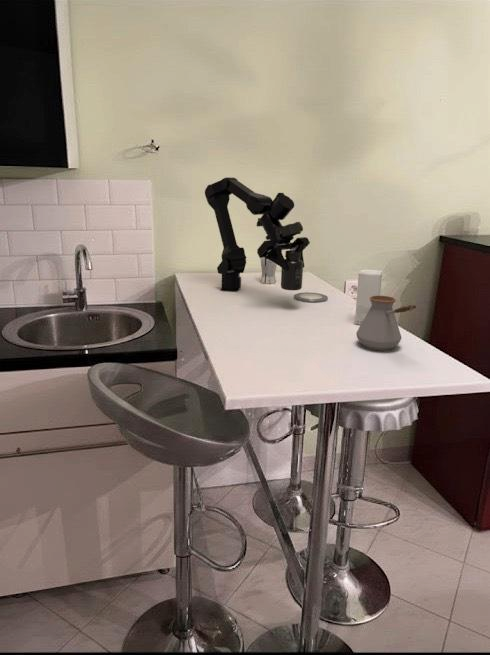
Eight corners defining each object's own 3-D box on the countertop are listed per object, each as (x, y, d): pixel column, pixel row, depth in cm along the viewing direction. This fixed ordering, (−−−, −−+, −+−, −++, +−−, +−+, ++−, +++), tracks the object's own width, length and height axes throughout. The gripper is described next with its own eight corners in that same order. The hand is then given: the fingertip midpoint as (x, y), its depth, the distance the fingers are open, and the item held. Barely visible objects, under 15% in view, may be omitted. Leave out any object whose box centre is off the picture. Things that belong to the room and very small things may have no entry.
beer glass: (257, 281, 206) (258, 243, 202) (273, 280, 208) (274, 243, 204) (262, 284, 200) (264, 246, 196) (279, 284, 202) (281, 245, 198)
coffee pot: (348, 339, 139) (353, 285, 134) (387, 337, 141) (393, 284, 137) (385, 369, 119) (393, 307, 115) (430, 366, 122) (439, 305, 117)
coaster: (292, 301, 177) (292, 299, 177) (295, 293, 188) (295, 291, 188) (327, 303, 175) (327, 301, 175) (328, 295, 186) (328, 293, 186)
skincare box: (375, 327, 151) (381, 275, 146) (352, 324, 153) (357, 272, 148) (378, 319, 158) (383, 269, 153) (356, 317, 160) (361, 267, 155)
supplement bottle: (299, 285, 169) (301, 249, 165) (303, 291, 163) (306, 253, 159) (278, 285, 169) (280, 249, 165) (282, 290, 162) (284, 253, 158)
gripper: (264, 214, 156) (287, 256, 151) (308, 212, 167) (330, 251, 162) (247, 236, 164) (268, 277, 159) (289, 233, 175) (310, 271, 171)
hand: (295, 268), depth 163 cm, fingers closed on supplement bottle, 7 cm apart
